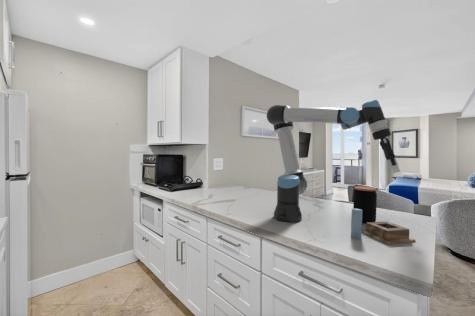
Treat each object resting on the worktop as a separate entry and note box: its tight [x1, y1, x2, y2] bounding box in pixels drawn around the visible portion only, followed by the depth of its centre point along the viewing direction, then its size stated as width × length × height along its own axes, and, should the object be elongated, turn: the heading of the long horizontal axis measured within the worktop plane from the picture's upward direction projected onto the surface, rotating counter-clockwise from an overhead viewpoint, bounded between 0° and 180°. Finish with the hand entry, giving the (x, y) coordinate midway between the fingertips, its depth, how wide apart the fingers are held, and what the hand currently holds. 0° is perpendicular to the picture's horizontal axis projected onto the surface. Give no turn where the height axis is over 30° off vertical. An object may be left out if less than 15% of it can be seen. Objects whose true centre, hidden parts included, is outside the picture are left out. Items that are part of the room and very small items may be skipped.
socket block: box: [362, 220, 416, 245], centre depth 97 cm, size 14×14×5 cm
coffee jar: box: [352, 185, 378, 224], centre depth 119 cm, size 11×11×18 cm
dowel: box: [350, 208, 363, 240], centre depth 95 cm, size 4×4×12 cm
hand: (395, 171), depth 107 cm, fingers open, 13 cm apart
